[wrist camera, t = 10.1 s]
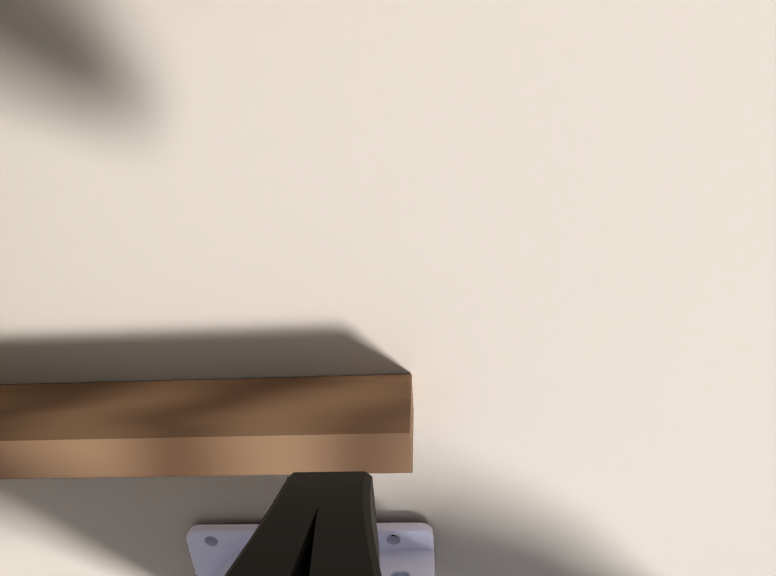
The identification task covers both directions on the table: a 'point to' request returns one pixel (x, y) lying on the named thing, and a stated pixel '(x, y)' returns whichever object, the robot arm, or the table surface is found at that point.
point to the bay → (207, 427)
